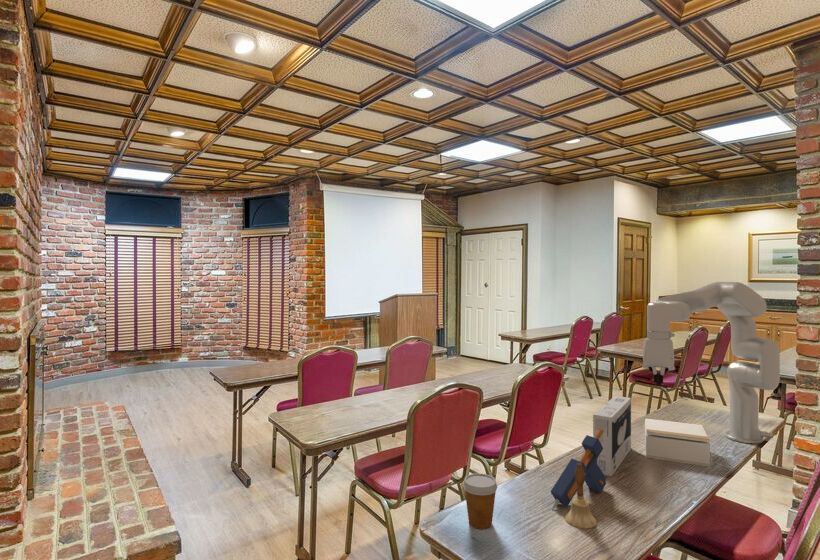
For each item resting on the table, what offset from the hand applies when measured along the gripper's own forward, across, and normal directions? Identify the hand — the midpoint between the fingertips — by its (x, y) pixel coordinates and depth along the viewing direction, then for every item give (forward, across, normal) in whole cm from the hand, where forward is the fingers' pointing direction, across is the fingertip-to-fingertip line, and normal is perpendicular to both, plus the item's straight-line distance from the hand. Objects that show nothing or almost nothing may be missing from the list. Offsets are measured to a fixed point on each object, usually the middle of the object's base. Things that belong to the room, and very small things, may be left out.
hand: (658, 384), depth 170 cm
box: (+27, -6, -7) cm, 29 cm away
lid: (+18, -6, -7) cm, 21 cm away
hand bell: (+27, +22, +58) cm, 68 cm away
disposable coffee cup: (+27, +47, +71) cm, 90 cm away
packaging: (+27, +15, +9) cm, 33 cm away
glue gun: (+27, +24, +45) cm, 58 cm away
